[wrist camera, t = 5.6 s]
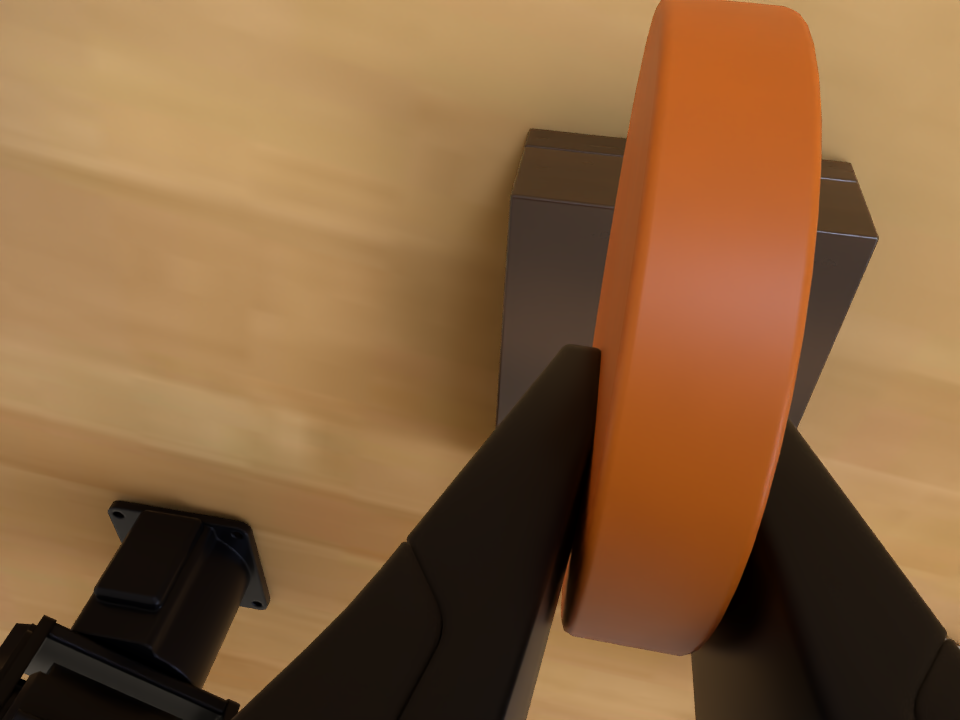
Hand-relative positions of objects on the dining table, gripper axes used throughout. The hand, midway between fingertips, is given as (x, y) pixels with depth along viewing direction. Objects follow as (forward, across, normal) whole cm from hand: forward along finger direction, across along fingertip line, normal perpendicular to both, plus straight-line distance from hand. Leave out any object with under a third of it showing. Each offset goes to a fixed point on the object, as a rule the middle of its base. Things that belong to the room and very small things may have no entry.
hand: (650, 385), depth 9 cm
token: (+4, 0, 0) cm, 4 cm away
